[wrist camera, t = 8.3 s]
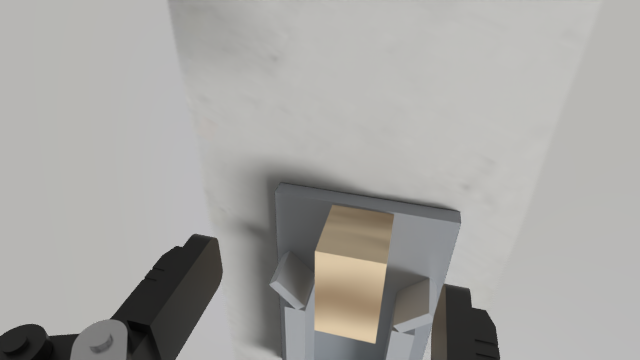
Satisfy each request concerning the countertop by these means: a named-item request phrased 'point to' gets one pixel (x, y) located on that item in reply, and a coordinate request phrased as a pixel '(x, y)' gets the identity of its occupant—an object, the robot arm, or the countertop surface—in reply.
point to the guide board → (399, 286)
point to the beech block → (351, 272)
